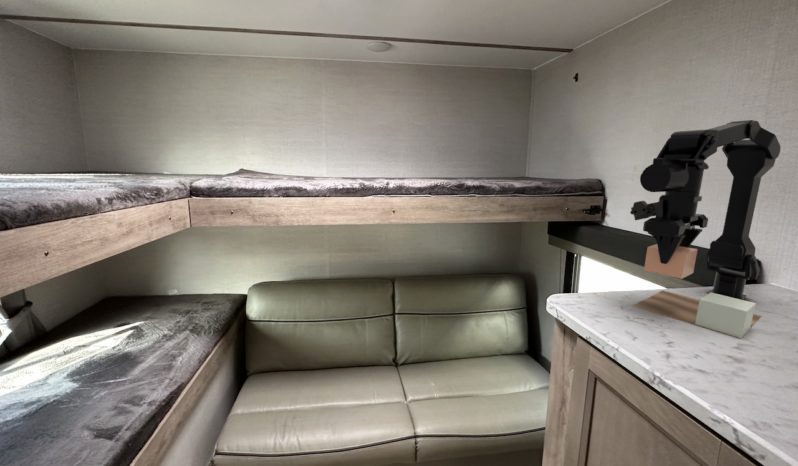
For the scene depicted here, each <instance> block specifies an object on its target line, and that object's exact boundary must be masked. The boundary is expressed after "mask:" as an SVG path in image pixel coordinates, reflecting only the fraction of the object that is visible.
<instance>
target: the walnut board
mask: <svg viewBox="0 0 798 466" xmlns="http://www.w3.org/2000/svg"><path fill="white" fill-rule="evenodd" d="M699 301H700V299H696V298H694V297H690V296H686V295H682V294H678V293H674V292H670V291H666V290H661V291H658V292H656V293H654V294H653V295H651V296H649V297H647V298H645V299H643V300H641V301H639V302H637V303H635V304H633V305H632V307H635V308H638V309H641V310H644V311H648V312H651V313H653V314H657V315H660V316H664V317H667V318H670V319H674V320H676V321H679V322H682V323H686V324H690V325H693V326H697V327H700V328H703V329H705V330H710V331H713V332H716V333H719V334H722V335H725V336H729V337H732V338H734V339H739V340H741V339H742V338H743V337H744V336H745V335H746V334H747V332H746V333H745V334H744V335H743V336H742V338H739V337H735V336H732V335H729V334H726V333H722V332H719V331H716V330H712V329H709V328H706V327H703V326H699V325H696V324H695V321H696V316H697V311H698V306H699ZM762 317H763V316H762V315H760V314H756V313H754V314H753V318H752V322H751V327H750V329H751V328H752V327H754V326H755V324H756V323H757V322H758V321H759V320H760V319H761V318H762Z"/></svg>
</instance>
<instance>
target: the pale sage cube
mask: <svg viewBox="0 0 798 466" xmlns="http://www.w3.org/2000/svg"><path fill="white" fill-rule="evenodd" d="M699 300H700V301H699V306H698V311H697V316H696V321H695V324H696V325H699V326H703V327H706V328H709V329H712V330H716V331H719V332H722V333H726V334H729V335H732V336H735V337H739V338H741V339H742V338H743V337H744V336H745V335H746V334H747V332H749V330H751V328H752V327H751V322H752V318H753V314H755V309H756V304H757V303H756V302H752V301H748V300H745V299H744V300H740V299H736V298H732V297H728V296H724V295H719V294H715V293H711V292H710V293H709V294H706V295H704V296H703V297H701V298H700V299H699ZM696 325H695V326H696ZM699 326H698V327H699ZM750 327H751V328H750ZM706 328H705V329H706ZM709 329H708V330H709ZM712 330H711V331H712ZM719 332H718V333H719ZM722 333H721V334H722ZM745 333H746V334H745ZM744 334H745V335H744ZM743 335H744V336H743ZM732 336H731V337H732ZM742 336H743V337H742ZM735 337H734V338H735Z"/></svg>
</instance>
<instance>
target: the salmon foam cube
mask: <svg viewBox="0 0 798 466" xmlns="http://www.w3.org/2000/svg"><path fill="white" fill-rule="evenodd" d="M697 256H698V248H692V247H688V248H687V247H681V246H678V248H677V249H676V251H675V253H674V254H673V256H672V257H671V259H670V260H669V262H668V263H667V264H663V263H661V262H660V256H659V251H658V246H657V243H655V244H652V245H650V246H647V250H646V254H645V262H644V267H643V270H644V271H646V272H649V273H655V274H659V275H663V276H667V277H673V278H677V279H681V280H682V279H684V278H686V277H688V276H691V275H692V274H694V271H695V264H696V261H697Z"/></svg>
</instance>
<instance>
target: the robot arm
mask: <svg viewBox="0 0 798 466" xmlns="http://www.w3.org/2000/svg"><path fill="white" fill-rule="evenodd" d="M719 147H722V148H721V151H722V152H723V155H725V158H727V160H726V167H727V168H728V170H729V172H730V173H731V175H732V176H733V177H732V182H731V183H732V184H731V187H730V193H729V199H728V204H727V208H726V213H725V219H724V223H723V230H722V234H721V235H720V236H718V237H717V239H715V240H712V241H711V242H710V243H709V250H708V251H707V255H706V270H707V271H710V272H711V271H712V272H716V273H715V277H714V282H713V287H712V289H711V290H709V291H707V292H706V293H707V294H709V293H710V292H711V293H715V294H719V295H724V296H728V297H732V298H736V299H740V300H744V301H745V299H746V298H747V295H746V294H744V290H745V286H746V282H747V281H748V280H754V281H755V280H757V279H758V276H760V272H761V268H760V266H759V262H758V260H757V257H756V256H755V255H756V246H755V245H754V243H753V241H752V239H751V237H750V233H751V232H750V231H751V227H752V222H753V218H754V212H755V208H756V204H757V199H758V194H759V190H760V184H761V180H762V177H764V176H765V174H767V173H768V172H769V171H770V170H771V169H772V168H773V167H774V166H775V162H776V159H778V158H779V156H780V154H781V150H782V149H781V144H780V142H779V140H778V138H777V135H776V134H774V133H773V132H771V131H769V130H767V129H765V128H763V127H761V125H760V123H759V121H758V120H753V119H751V120H749V119H747V120H736V121H735V120H734V121H730V122H728V123H726V124H722V125H719V126H715V127H713V128H708V129H697V130H695V129H693V130H680V131H674V132H673V133H672V134H671V135H670V137H669V138H668V139H666V142H665V144H664V145H663V147H662V148H661V150H660V151H659V153H658V154H657V156H656V158H653V160H652V164H650V165H648V166H647V167H645V169H644V170H643V171H642V173H641V174H640V178H639V182H640V185H641V186H642V188H643V189H644V190H645V191H647V192H651V193H663V192H664V193H665V194H661V195H660V196H659V197H658V198H659V199H658V201H657V202H650V203H647V202H646V201H645V200H640V201H636V202H633V204H632V207H630V208H631V210H630V212H629V214H631V215H633V218H634V221H639V220H644V219H647V220H645V221H643V227H642V228H643V229H642V231H643V232H645V233H647V234H648V235H650V236H651V237H653V238H654V239H655V241H656V244H657V246H658V251H659V256H660V262H661V263H663V264H667V263H668V262H669V260H670V259H671V257H672V256H673V254H674V253H675V251H676V249H677V248H678V246H681V247H687V248H690V246H691V245H692V243H693V242H694V241H695V240H696V239H697V238H698V236H699V235H700V234H701V232H703V229H705V228H707V227H708V222H709V218H708V217H707V215H705V214H703V213H702V214H701V213H697V209H698V204H699V202H702V200H703V196H702V195H700V193H701V189H702V183H703V177H704V173H705V171H704V170H709V165H708V163H707V162H705V161H706V160H707V159H708V158H709V157H711V156H712V155H714V154H716V153H717V152H718V148H719ZM696 227H699V228H696ZM707 294H706V295H707Z"/></svg>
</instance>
